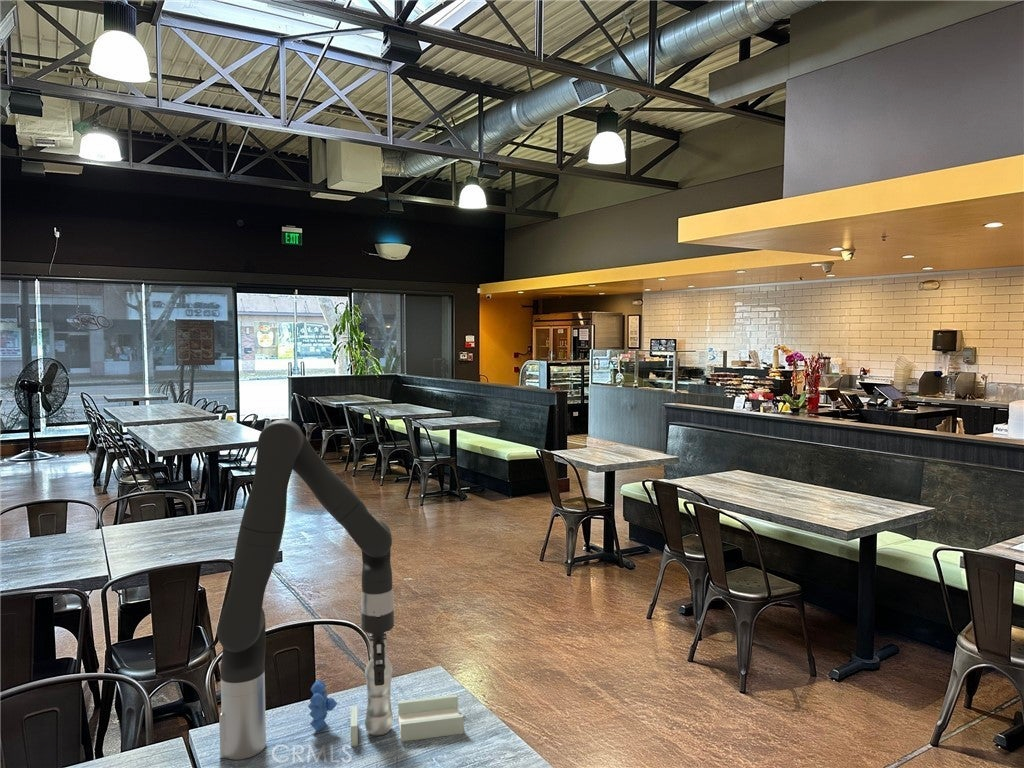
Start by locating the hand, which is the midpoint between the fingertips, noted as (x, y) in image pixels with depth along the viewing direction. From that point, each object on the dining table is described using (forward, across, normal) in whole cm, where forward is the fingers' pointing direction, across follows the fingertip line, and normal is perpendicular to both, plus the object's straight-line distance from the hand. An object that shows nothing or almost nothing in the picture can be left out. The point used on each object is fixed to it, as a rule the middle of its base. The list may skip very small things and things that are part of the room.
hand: (378, 676), depth 160 cm
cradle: (+13, 0, +13) cm, 19 cm away
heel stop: (+13, 0, -6) cm, 15 cm away
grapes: (+13, -4, -13) cm, 19 cm away
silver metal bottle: (+13, 0, 0) cm, 13 cm away
